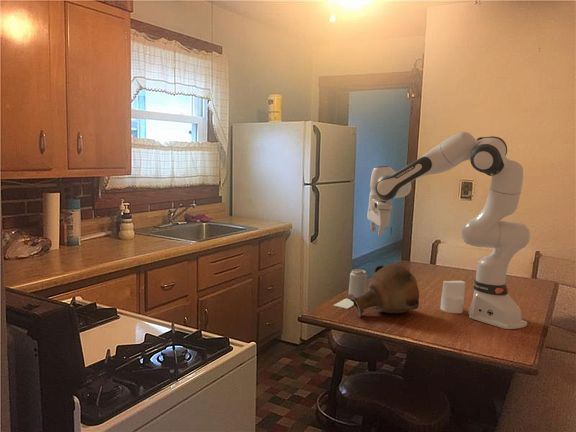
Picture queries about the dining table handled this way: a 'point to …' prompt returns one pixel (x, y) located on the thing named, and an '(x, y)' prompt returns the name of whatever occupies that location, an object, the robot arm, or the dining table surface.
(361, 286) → the can
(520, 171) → the robot arm
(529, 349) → the dining table surface
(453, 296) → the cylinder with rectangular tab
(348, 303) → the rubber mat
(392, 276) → the jug
